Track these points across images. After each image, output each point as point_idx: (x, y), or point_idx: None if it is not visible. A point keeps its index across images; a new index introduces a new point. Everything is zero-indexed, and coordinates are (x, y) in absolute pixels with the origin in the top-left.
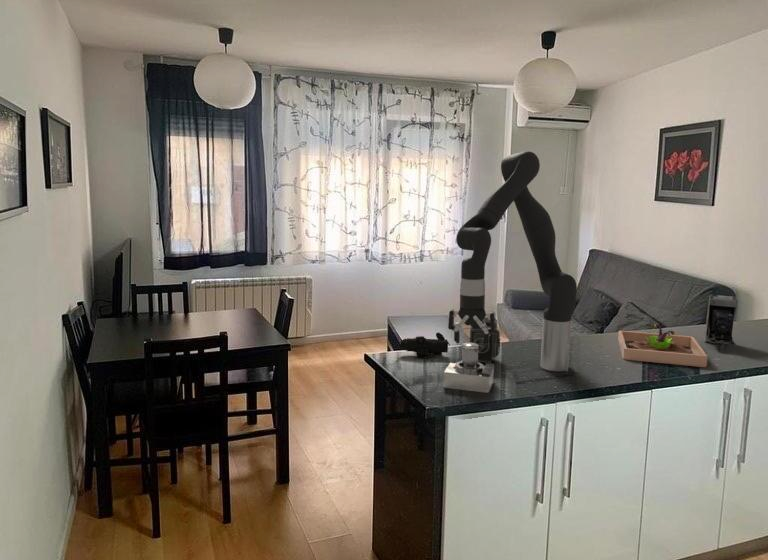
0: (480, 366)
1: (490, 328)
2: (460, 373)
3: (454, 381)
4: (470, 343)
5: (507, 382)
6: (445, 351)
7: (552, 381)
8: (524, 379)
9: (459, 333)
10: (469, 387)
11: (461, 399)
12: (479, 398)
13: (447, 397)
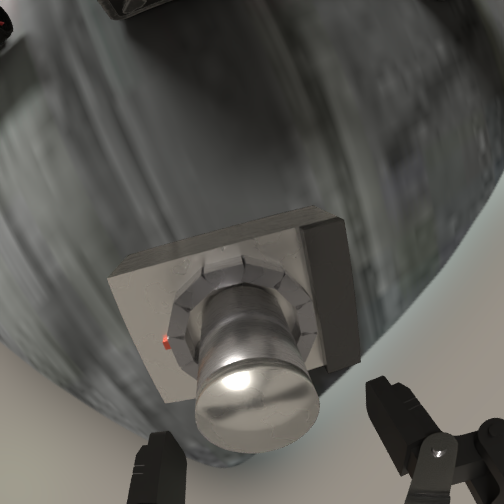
0: (303, 323)
1: (470, 475)
2: None
3: None
4: (243, 391)
5: (361, 173)
6: (4, 39)
7: (466, 93)
8: (400, 107)
9: (163, 488)
10: None
11: None
12: (318, 375)
13: None
